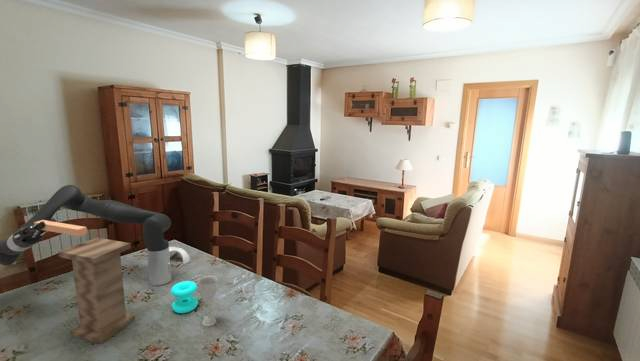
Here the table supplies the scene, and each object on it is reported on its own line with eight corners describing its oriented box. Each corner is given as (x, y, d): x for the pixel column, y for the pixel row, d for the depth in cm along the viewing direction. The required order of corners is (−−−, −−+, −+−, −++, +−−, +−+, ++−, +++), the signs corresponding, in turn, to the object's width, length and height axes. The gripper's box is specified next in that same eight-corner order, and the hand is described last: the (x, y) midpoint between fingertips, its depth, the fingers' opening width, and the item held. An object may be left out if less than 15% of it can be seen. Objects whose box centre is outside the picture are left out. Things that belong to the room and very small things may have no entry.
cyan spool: (165, 288, 125) (185, 277, 134) (166, 310, 127) (186, 298, 136) (182, 294, 121) (202, 283, 130) (184, 317, 123) (203, 304, 132)
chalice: (222, 319, 122) (221, 277, 119) (211, 329, 116) (209, 285, 113) (207, 314, 125) (205, 273, 121) (195, 325, 118) (193, 282, 115)
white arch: (149, 258, 174) (148, 246, 173) (167, 251, 185) (167, 239, 184) (179, 267, 164) (178, 255, 163) (196, 259, 175) (195, 247, 174)
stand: (69, 334, 111) (58, 251, 105) (105, 312, 124) (97, 237, 118) (103, 344, 107) (93, 258, 101) (137, 320, 120) (130, 243, 114)
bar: (35, 228, 115) (34, 222, 114) (44, 226, 118) (43, 219, 117) (78, 236, 109) (78, 229, 108) (87, 233, 112) (86, 227, 111)
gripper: (-3, 236, 113) (21, 218, 107) (40, 224, 126) (64, 208, 121) (6, 254, 113) (32, 237, 108) (49, 241, 126) (73, 225, 121)
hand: (49, 222), depth 114 cm, fingers closed on bar, 3 cm apart
